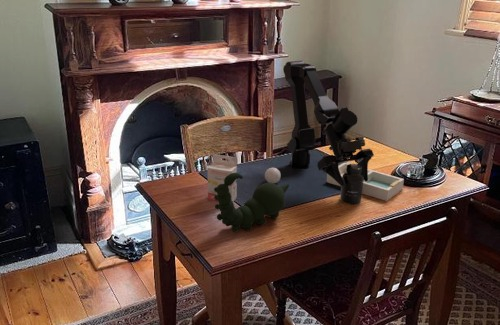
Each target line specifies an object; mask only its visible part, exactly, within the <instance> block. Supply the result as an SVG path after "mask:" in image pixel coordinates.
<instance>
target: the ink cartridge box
mask: <svg viewBox="0 0 500 325" xmlns="http://www.w3.org/2000/svg"><path fill="white" fill-rule="evenodd" d="M223 159H225V160H223ZM212 161H213V162H212V163H211V164H210V165H209V166H207V200H208V201H212V202H215V203H216V202H218V200H215V198H214V196H215V195H218V194H217V192H215V191H214V188H215V187H217V186H218V185H220V184H224V179H225V177H226V176H228V175H229V174H231V173H238V169H237V168H238V166H237V158H236V157H234V156H230V155H229V156H228V155H222V154H215V153H214V154H213V155H212ZM237 180H238V179H237ZM237 180H235V181H234V183H233V184H231V185H230V186H228V187H229V193H230V194H231V200H232V201H233V203H234V202H235V200H236V199H237V198H238V197H237V196H238V195H237V193H238V192H237V191H238V190H237V189H238V186H237ZM218 203H219V202H218Z"/></svg>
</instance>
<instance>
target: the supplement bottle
mask: <svg viewBox="0 0 500 325" xmlns="http://www.w3.org/2000/svg"><path fill="white" fill-rule="evenodd" d="M361 173H362V167H361V166H360V165H358V163H348V165H347V168H346V172H345V173H344V174H343V176H342V179H343V182H344V186H340V195H339V199H340V200H341V202H342V203H345V204H347V205H358V204H359V203H361V202H362V196H363V193H362V190H363V182H364V177H363V175H362V174H361Z"/></svg>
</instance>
